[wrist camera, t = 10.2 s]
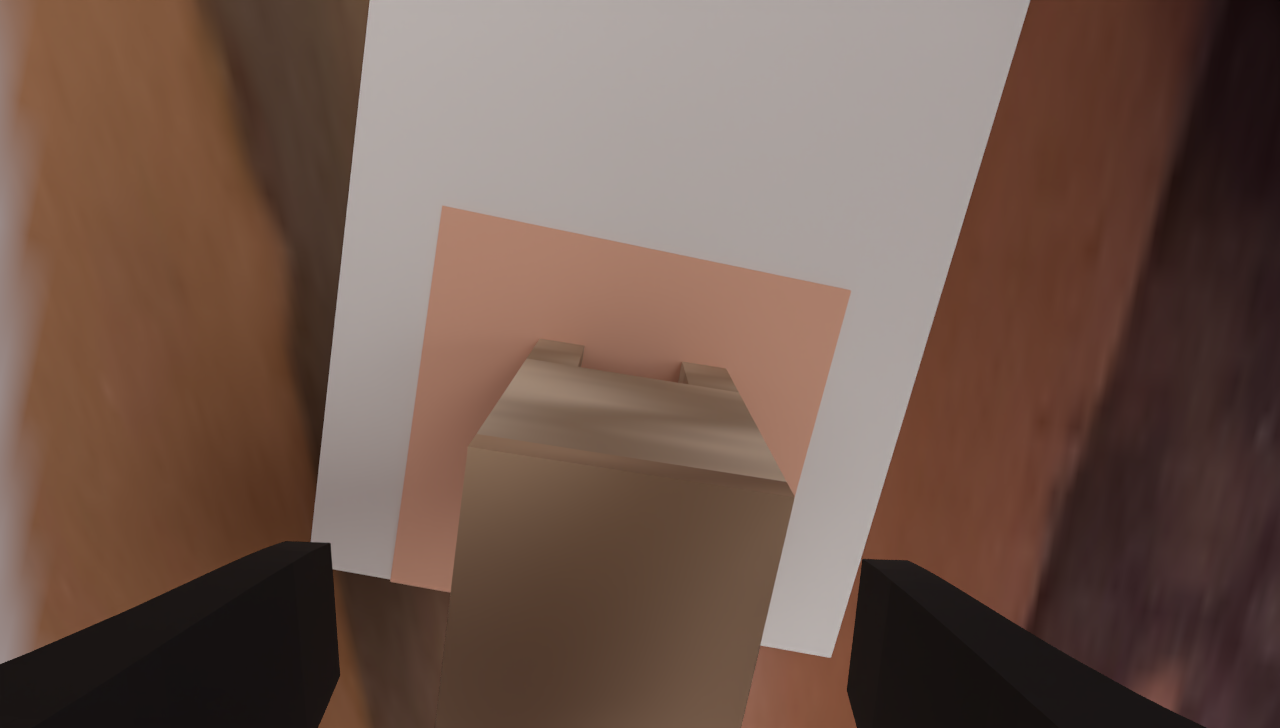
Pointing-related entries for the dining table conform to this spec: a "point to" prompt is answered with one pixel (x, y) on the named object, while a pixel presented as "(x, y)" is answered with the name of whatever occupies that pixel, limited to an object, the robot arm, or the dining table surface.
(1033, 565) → the dining table surface
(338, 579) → the dining table surface
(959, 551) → the dining table surface
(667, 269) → the mat
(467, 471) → the beige notched block
